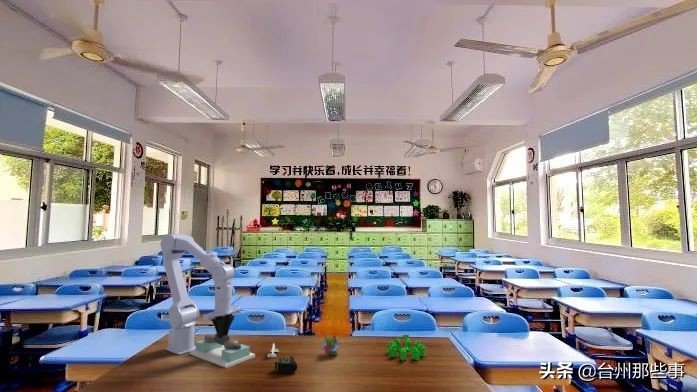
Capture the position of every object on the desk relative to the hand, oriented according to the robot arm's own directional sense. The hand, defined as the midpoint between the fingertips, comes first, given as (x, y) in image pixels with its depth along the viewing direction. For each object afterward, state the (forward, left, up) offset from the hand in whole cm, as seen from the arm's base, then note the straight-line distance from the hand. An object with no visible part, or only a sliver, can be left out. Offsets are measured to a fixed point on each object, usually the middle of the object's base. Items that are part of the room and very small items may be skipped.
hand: (222, 336), depth 129 cm
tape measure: (+29, +4, -7) cm, 30 cm away
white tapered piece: (+17, +8, -7) cm, 20 cm away
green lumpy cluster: (+54, +39, -7) cm, 67 cm away
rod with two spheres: (0, 0, -2) cm, 3 cm away
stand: (0, 0, -7) cm, 7 cm away
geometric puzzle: (+32, +23, -7) cm, 40 cm away
